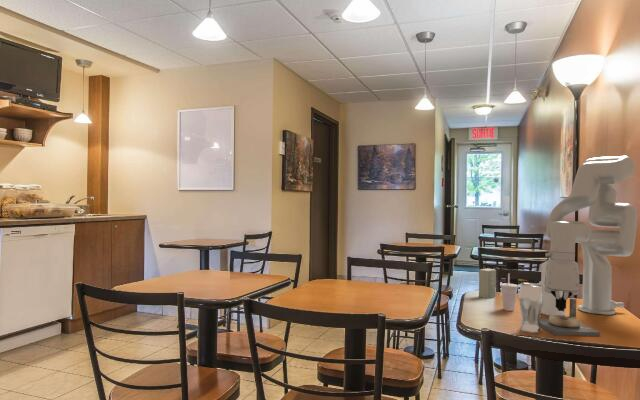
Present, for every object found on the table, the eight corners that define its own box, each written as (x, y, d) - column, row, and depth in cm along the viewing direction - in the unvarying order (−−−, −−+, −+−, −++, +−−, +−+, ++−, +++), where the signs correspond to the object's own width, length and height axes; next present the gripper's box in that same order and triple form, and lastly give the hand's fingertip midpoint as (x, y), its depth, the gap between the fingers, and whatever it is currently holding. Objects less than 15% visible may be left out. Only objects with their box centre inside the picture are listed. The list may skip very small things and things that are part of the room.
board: (571, 322, 157) (571, 317, 157) (600, 336, 141) (600, 330, 141) (531, 321, 157) (531, 316, 157) (555, 335, 141) (555, 330, 141)
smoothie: (514, 308, 177) (515, 272, 177) (520, 312, 171) (520, 275, 171) (497, 307, 178) (498, 272, 178) (502, 311, 172) (503, 274, 172)
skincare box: (487, 295, 201) (487, 268, 201) (496, 297, 197) (496, 269, 197) (478, 296, 198) (478, 269, 198) (486, 298, 194) (487, 270, 194)
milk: (565, 315, 167) (566, 256, 167) (555, 317, 164) (556, 257, 164) (549, 311, 173) (551, 254, 172) (540, 313, 170) (541, 255, 169)
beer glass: (514, 327, 150) (515, 282, 150) (534, 327, 150) (535, 282, 150) (526, 333, 143) (526, 286, 143) (546, 333, 143) (547, 286, 143)
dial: (575, 320, 154) (575, 298, 154) (583, 328, 144) (584, 305, 144) (545, 317, 157) (545, 296, 157) (551, 325, 146) (552, 303, 146)
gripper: (540, 256, 154) (538, 310, 153) (589, 259, 149) (588, 315, 149) (536, 254, 161) (535, 306, 161) (583, 257, 156) (582, 310, 156)
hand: (560, 310), depth 155 cm, fingers closed
